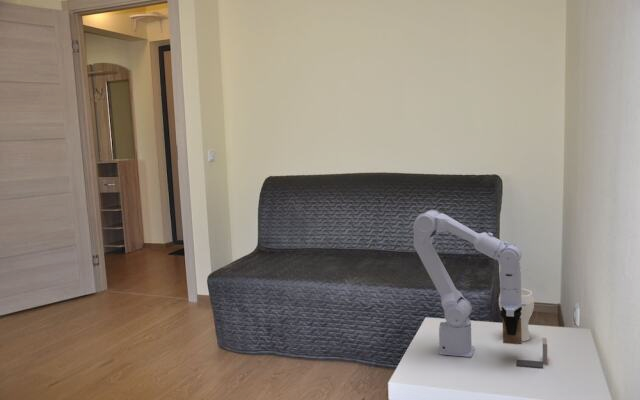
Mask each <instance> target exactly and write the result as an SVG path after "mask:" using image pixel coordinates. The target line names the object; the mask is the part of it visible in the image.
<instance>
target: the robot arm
mask: <svg viewBox="0 0 640 400" xmlns="http://www.w3.org/2000/svg"><path fill="white" fill-rule="evenodd" d="M412 230H413V242H412V243H413V246H414V249H415V251H416V253H417V255H418V256H419V259H420V260H421V263H422V264H423V266H424V268H425V271H426V272H427V273H428V275H429V277H430V279H431V281H432V283H433V285H434V286H435V289H436V290H437V292H438V294H439V296H440V299H441V300H440V301H441V307H442V309H443V311H444V312H443V313H444V319H445V321H441V322H439V326H438V327H439V328H438V337H439V339H438V340H439V342H438V343H439V355H442V356H454V357H466V358H472V357H473V354H474V349H475V346H474V345H472V344H473V343H472V321H471V319H470V315H471V314H472V311H473V307H472V303H471V302H470V301H469V300H468V299H467V298H465V296H463V294H462V292H461V291H460V290H458V289H457V288H456V286H455V284H454V282H453V280H452V278H451V277H450V275H449V273H448V271H447V269H446V267H445V266H444V264H443V262H442V260H441V258H440V256H439V254H438V253H437V251H436V249H435V247H434V245H433V241H434V239H435V236H436V233H437V234H438V233H443V232H444V233H446V232H448V233H451V234H453V235H455V236H457V237H459V238H461V239H464V240H465V241H468V242H470V243H472V244H473V247H474V250H476V251H478V252H479V253H481V254H483V255H484V256H487V257H489V258H490V259H494V261H497V262H498V264H499V265H500V266H499V270H500V271H499V282H500V283H499V288H500V293H499V295H500V297H501V301H500V305H501V306H502V307H501V309H502V310H500V312H499V313H500V315H501V317H502V320H503V319H504V322H505V326H506V330H507V334H508V335H516V330H517V324H518V320H519V318H520V316H521V310H522V307H521V306H526V302H521V289H522V271H521V262H520V261H521V259H522V251H521V249H520V248H519V247H518V246H517V245H516V244H513V243H509V242H508V241H506V240H505V241H503V240H501V239H499V238H497V237H495V236H493V235H494V233H492V232H485V231H484V232H480V233H478V232H476V231H475V230H473V229H472V228H470V227H467V226H466V225H464V224H462V223H461V222H459V221H457V220H455V219H454V218H452V217H450V216H449V215H447V214H445V213H441V212H439V211H438V210H435V209H429V210H427V211H426V212H424V213H421V214H419V215H418V216H416V218H415V220H414V222H413V224H412Z"/></svg>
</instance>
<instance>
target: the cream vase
mask: <svg viewBox="0 0 640 400" xmlns="http://www.w3.org/2000/svg"><path fill="white" fill-rule="evenodd" d="M500 301H501V297H500V294H499V297H498V306H499V307H498V308H499V310H500V311H501V310H502V309H501V307H502V306H501V305H500ZM521 302H526V306H521V307H522V310H521V316H520V318H521V332H522V342H527V341H529V340H530V338H531V337H530V331H529V321H530V318H531V316H532V315H533V312H534V309H535V299H534V295H533V292H532V291H531V290H529V289H527V288H521Z"/></svg>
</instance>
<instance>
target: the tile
mask: <svg viewBox="0 0 640 400" xmlns="http://www.w3.org/2000/svg"><path fill="white" fill-rule="evenodd" d="M541 340H542V362H543V366H544V365H545V366H547V365H548V364H549V363H548V339H547V338H546V337H542V339H541Z"/></svg>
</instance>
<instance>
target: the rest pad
mask: <svg viewBox="0 0 640 400" xmlns="http://www.w3.org/2000/svg"><path fill="white" fill-rule="evenodd" d="M515 365H516V367H524V368H532V369H544V365H543V360H542V361H540V360H527V359H519V358H517V359H516V364H515Z"/></svg>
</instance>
